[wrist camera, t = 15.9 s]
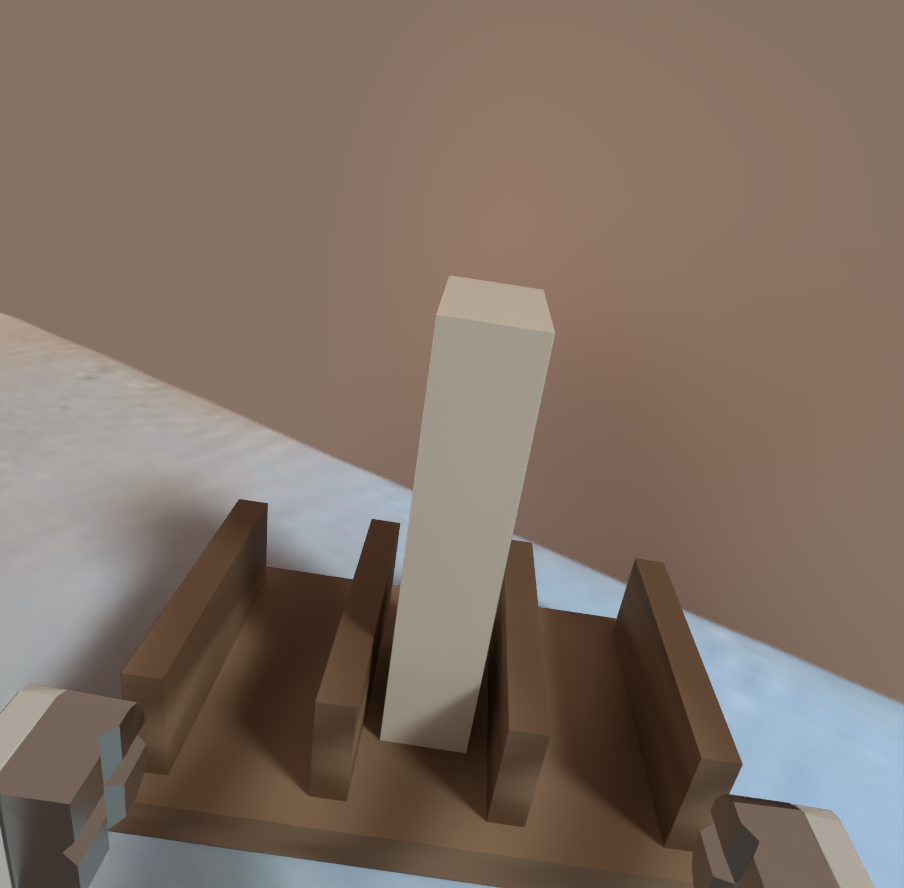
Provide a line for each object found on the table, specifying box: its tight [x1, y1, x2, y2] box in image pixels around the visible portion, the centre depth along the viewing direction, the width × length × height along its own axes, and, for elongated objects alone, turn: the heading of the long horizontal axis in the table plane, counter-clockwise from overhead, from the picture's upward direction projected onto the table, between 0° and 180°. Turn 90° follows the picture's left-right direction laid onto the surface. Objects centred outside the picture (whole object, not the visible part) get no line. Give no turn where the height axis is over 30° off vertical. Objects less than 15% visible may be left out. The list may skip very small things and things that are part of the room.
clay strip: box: [380, 276, 555, 753], centre depth 22 cm, size 3×5×15 cm, turn 176°
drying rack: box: [108, 499, 743, 888], centre depth 25 cm, size 20×12×6 cm, turn 87°
